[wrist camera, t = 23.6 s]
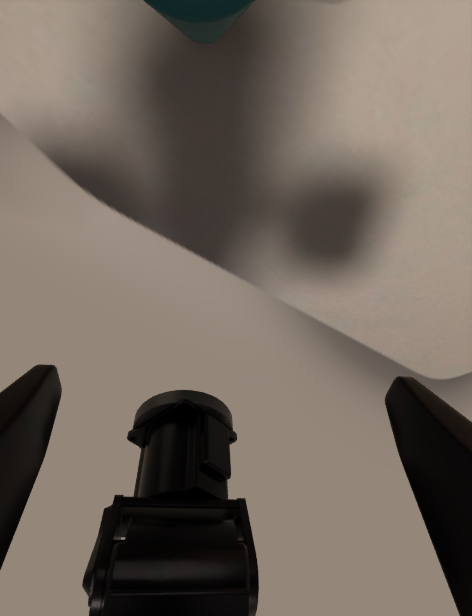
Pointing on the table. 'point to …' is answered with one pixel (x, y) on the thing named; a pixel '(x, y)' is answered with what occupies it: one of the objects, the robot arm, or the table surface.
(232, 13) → the black compartment tray
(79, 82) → the table surface
